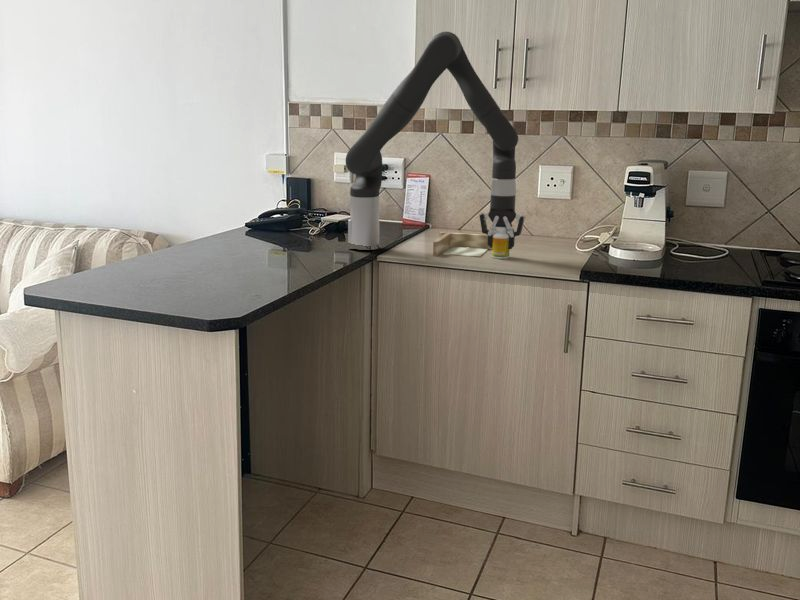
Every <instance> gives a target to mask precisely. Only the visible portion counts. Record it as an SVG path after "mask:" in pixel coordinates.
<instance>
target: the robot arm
mask: <svg viewBox="0 0 800 600" xmlns="http://www.w3.org/2000/svg"><path fill="white" fill-rule="evenodd" d="M446 70H448V72H449V73H450V74H451V75H452V77H453V78H454V80H455V81H456V83H457V84H458V87H459V88H460V90H461V93H462V95H463V97H464V99H465V101H466V103H467V105H468V107H469V108H470V110H471V111H472V113H473V114H474V116H475V117H476V119H477V120H478V121H479V123H480V124H481V125H482V127H484V128H485V130H486V131H487V133H488V134H489V136H490V138H491V139H492V155H493V162H492V171H491V173H492V174H491V175H492V176H491V177H492V178H491V184H490V199H489V200H490V203H489V206H490V207H489V211H488V213H484V212H483V213H481V214H479V220H480V227H481V233H482V234H484V235H488V246H489V247H490V248H492V237H493V234H494V233H495V226H497V227H499V226H502V227H507V230H508V231H507V233H509V234H510V237H509V249H510V250H512V249H513V248H514V246H515V243H516V241H515V240H516V239H515V237H518V236H520V235H521V234H522V230H523V226H524V223H525V220H526V217H525V215H519V214H517V213H516V198H517V197H516V196H517V195H516V194H517V183H516V181H517V180H516V175H517V174H516V173H517V164H516V163H517V162H516V159H515V158H516V157H515V156H516V146H517V145H518V142H519V135H518V133H517V131H516V129H515V128H514V127H513V125H512V124H511V123H510V121H509V120H508V119H507V117H506V116H505V115H504V114H503V112H502V110H501V108H500V106H499V105H498V103H497V102H496V101H495V99H494V98H493V96H492V94H491V93H490V92H489V90H488V88H487V87H486V86H485V84H484V82H482V80H481V79H480V77H479V75H478V74H477V73H476V71H475V69H474V67H473V65H472V64H471V62H470V60H469V58H468V55H467V54H466V52H465V49H464V47H463V45H462V43H461V41H460V39H459V37H458V36H457V34H455V33H453V32H451V31H441V32H439V33H437V34H435V35H433V36H432V37H431V38H430V40H429V41H428V43H427V44H426V46H425V49H424V50H423V52H422V54H421V56H420V57H419V59H418V60H417V62H416V64H415V65H414V67H413V68H412V70H411V71H410V72H409V73H408V74H407V75H406V76H405V77H404V78H403V80H402V81H401V82H400V83H399V85H397V87H396V88H395V89H394V91H393V92H392V94H391V95H390V96H389V98H387V100H386V101H385V103H384V104H383V106H382V108H381V109H380V110H379V112H378V113H377V114H376V116H375V117H374V119H373V121H372V122H371V123H370V125H369V126H368V128H367V129H366V130H365V132H363V134H362V135H361V136H360V137H359V138H358V139H357V141H355V143H354V144H353V145H352V146H351V147H350V148H349V150H348V151H347V153H346V156H345V166H346V169H347V171H349V172H350V173H351V174H353V175H355V178H354V181H353V183H352V185H351V186H350V188H349V190H350V191H349V192H350V193H349V196H350V200H349V201H350V202H349V203H350V204H349V206H350V207H349V208H350V209H349V210H350V216H349V217H350V219H348V220H347V229H348V230H347V236H348V237H347V239H348V243H351V244H355V245H363V246H374V245H378V244H379V245H380V191H381V190H380V189H381V187H382V182H383V181H382V179H383V157H382V153H381V151H382V149H383V147H384V146H385V145H386V144H387V143H388V142H390V141H391V140H392V139H393V138H394V137H395V136H396V135H398V134H399V133H400V132H401V131H402V130H403V129H404V128H405V127H407V126H408V124H409V123H410V122H411V121H412V119H414V117H415V115H416V114H417V112H418V111H419V110H420V108H422V105H423V103H424V102H425V100H426V98H427V96H428V94H429V92H430V90H431V88H432V86H433V85H434V83H435V82H436V81H437V80H438V79H439V78H440V76H441V75H442V74H443V73H444V72H445V71H446ZM488 218H489V220H490V221H491V222H492V223H491V225H490V227H489V229H488V225H487V220H488ZM515 219H516V222H517V223H518V225H517V228H516V231H515V229H514V226H513V223H512V222H514V221H515Z"/></svg>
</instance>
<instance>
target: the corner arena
mask: <svg viewBox="0 0 800 600" xmlns="http://www.w3.org/2000/svg"><path fill="white" fill-rule="evenodd" d="M432 245H433V247H432V256H433V257H438V256H440V255H441V254H442V255H445V256H456V257H457V256H458V257H461V256H462V257H469V256H471V257H470V258H482V256H483V255H484V254H485V253H487V252H488V249H489V251H492V248H490V247H489V246H488V235H487V234H480V233H478V234H477V233H462V232H447V231H439V237H438V238H437V239H435V240H434V241H433V244H432ZM466 247H469V248H466Z"/></svg>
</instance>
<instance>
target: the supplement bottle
mask: <svg viewBox="0 0 800 600" xmlns="http://www.w3.org/2000/svg"><path fill="white" fill-rule="evenodd" d="M509 237H510V234H509V232H508V230H507V227H502V226H499V227H497V226H495V230H494V232H493V237H492V250H491V257H492V258H493V259H498V260H506V259H509V258H510V250H511V249H509Z"/></svg>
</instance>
